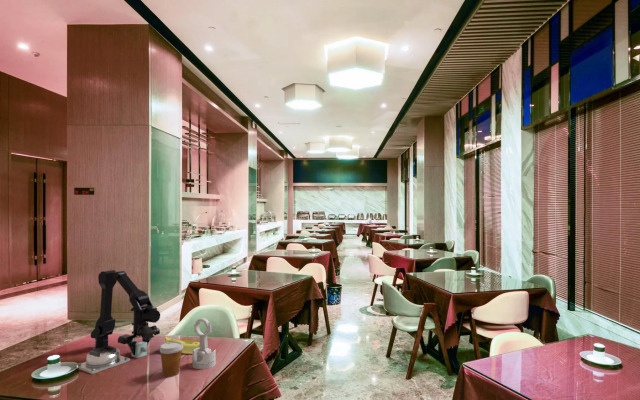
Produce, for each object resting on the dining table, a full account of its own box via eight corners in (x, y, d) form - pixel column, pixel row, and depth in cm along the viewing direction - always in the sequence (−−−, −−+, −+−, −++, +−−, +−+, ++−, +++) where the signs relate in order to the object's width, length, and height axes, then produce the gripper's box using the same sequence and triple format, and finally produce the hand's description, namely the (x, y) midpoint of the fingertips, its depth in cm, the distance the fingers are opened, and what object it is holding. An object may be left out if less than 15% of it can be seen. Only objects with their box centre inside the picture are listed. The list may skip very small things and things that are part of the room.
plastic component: (207, 341, 191) (203, 338, 182) (204, 356, 187) (200, 354, 178) (170, 338, 190) (163, 335, 182) (166, 354, 187) (159, 351, 178)
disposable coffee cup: (168, 380, 149) (168, 350, 150) (154, 375, 154) (154, 346, 155) (187, 372, 157) (188, 343, 158) (173, 367, 162) (174, 340, 163)
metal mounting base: (75, 367, 163) (75, 352, 163) (113, 355, 178) (113, 341, 178) (91, 374, 156) (92, 358, 156) (130, 360, 170) (130, 346, 171)
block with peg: (131, 356, 177) (131, 343, 177) (140, 352, 181) (141, 340, 181) (139, 358, 173) (140, 346, 173) (149, 355, 177) (149, 342, 178)
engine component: (204, 370, 159) (220, 362, 168) (205, 322, 160) (220, 317, 169) (186, 366, 164) (202, 358, 173) (186, 320, 165) (202, 314, 174)
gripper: (131, 327, 166) (130, 362, 165) (167, 318, 182) (166, 350, 181) (117, 324, 172) (116, 358, 171) (153, 315, 188) (152, 346, 187)
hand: (139, 353), depth 178 cm, fingers open, 5 cm apart
